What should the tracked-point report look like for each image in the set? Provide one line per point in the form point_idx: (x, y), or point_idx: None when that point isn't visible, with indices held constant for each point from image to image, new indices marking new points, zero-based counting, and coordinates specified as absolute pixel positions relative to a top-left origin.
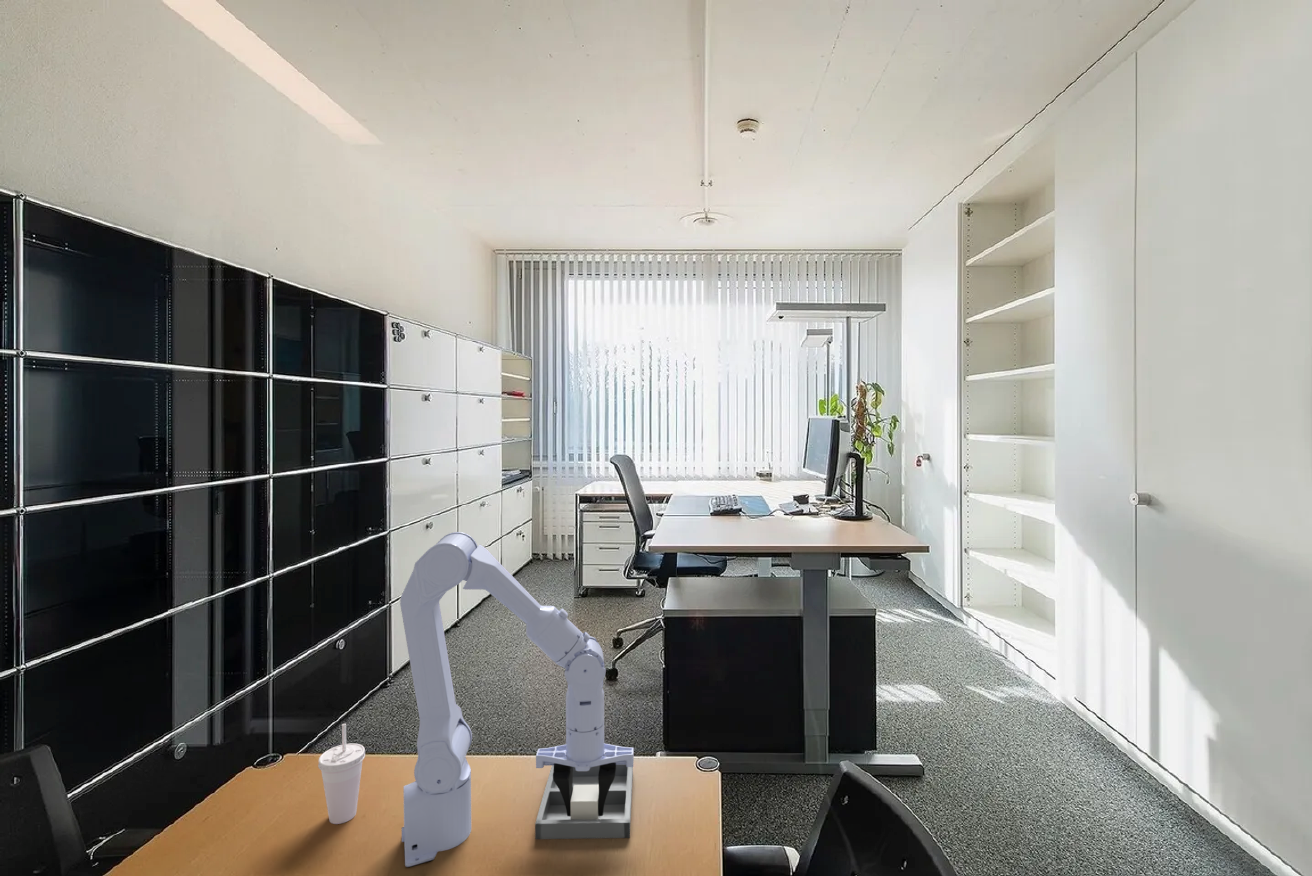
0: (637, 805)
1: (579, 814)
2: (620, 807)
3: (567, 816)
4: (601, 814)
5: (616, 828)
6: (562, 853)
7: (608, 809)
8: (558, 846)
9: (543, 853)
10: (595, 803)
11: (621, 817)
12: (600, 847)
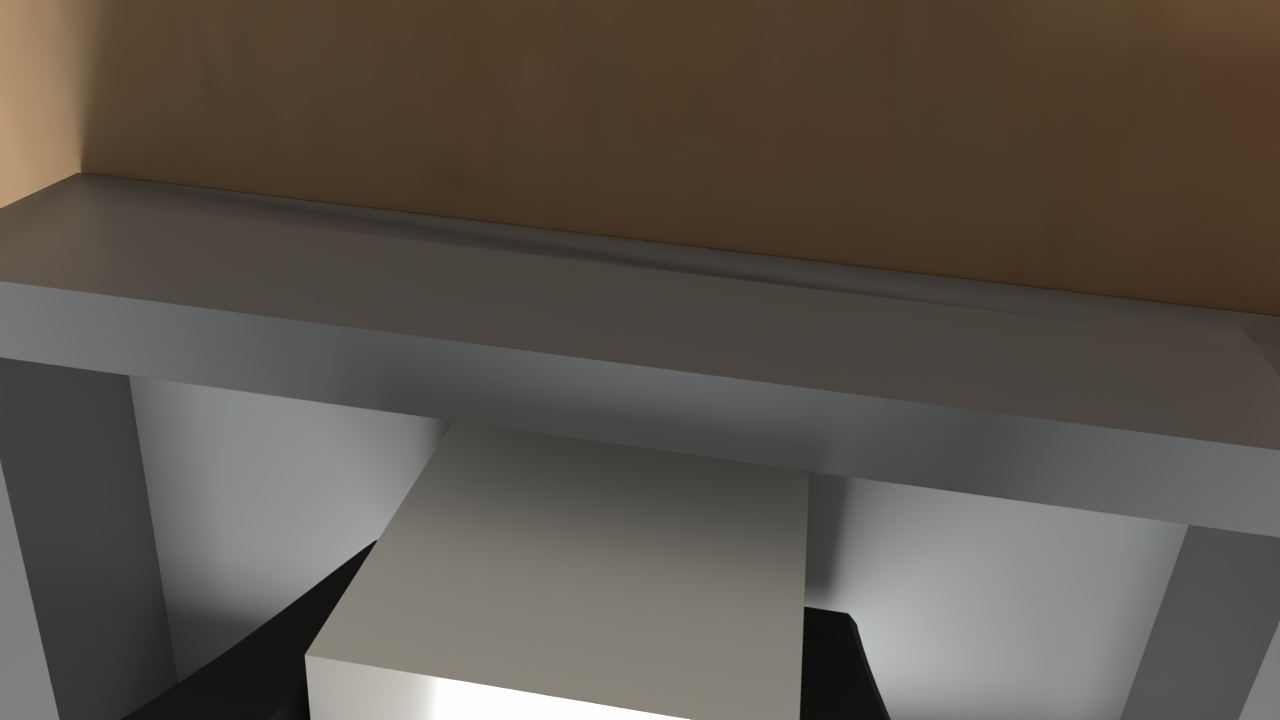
0: None
1: (665, 564)
2: None
3: None
4: (371, 549)
5: (125, 261)
6: (928, 105)
7: None
8: (979, 244)
9: (1206, 139)
10: (359, 637)
11: (196, 536)
12: (423, 153)
